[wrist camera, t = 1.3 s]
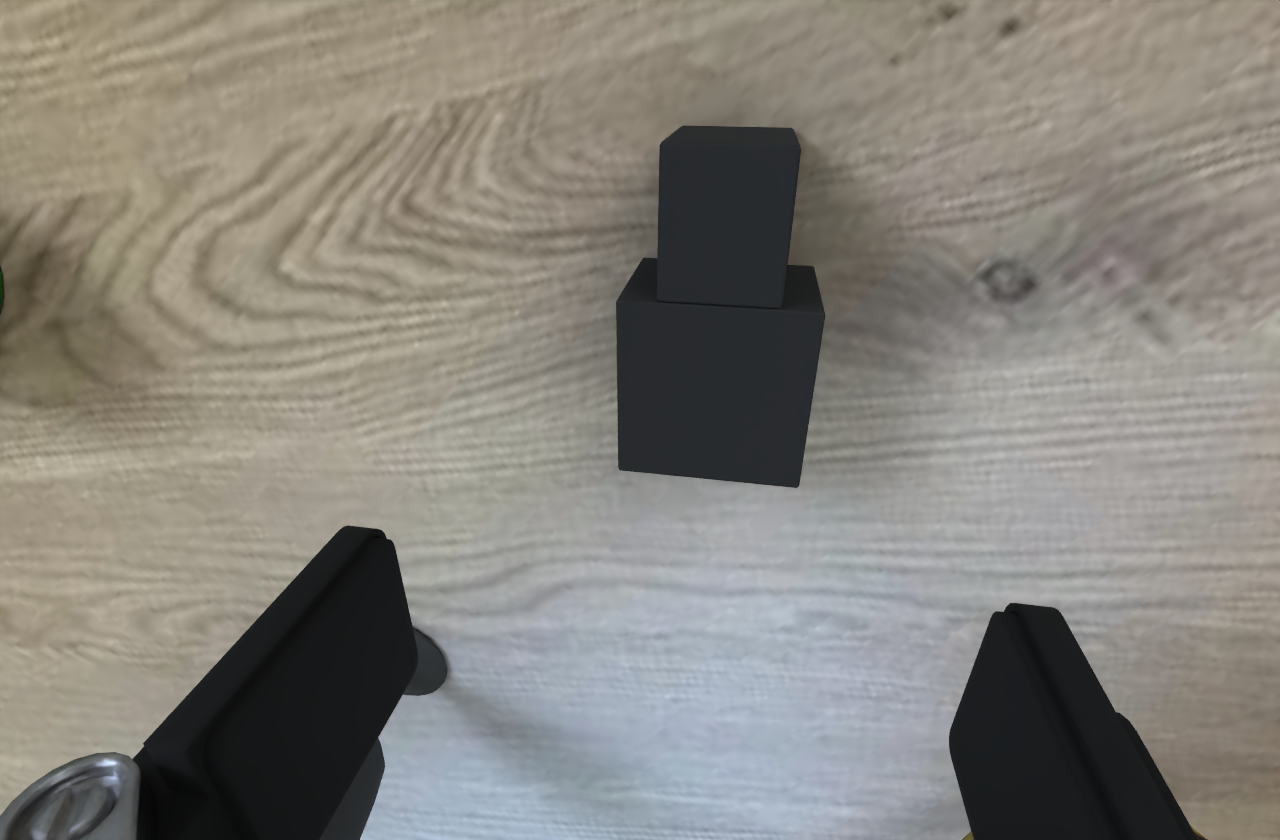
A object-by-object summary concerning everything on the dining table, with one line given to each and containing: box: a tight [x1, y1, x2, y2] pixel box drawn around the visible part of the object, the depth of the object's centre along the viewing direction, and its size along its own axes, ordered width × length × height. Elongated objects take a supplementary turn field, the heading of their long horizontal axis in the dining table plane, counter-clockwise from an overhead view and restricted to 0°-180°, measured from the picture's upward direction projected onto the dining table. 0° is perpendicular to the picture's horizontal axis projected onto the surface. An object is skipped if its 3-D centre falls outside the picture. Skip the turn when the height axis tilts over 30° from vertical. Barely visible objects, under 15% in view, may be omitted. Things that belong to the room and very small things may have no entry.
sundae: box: [319, 629, 447, 840], centre depth 24 cm, size 7×7×15 cm
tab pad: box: [616, 126, 825, 488], centre depth 17 cm, size 9×5×4 cm, turn 0°
